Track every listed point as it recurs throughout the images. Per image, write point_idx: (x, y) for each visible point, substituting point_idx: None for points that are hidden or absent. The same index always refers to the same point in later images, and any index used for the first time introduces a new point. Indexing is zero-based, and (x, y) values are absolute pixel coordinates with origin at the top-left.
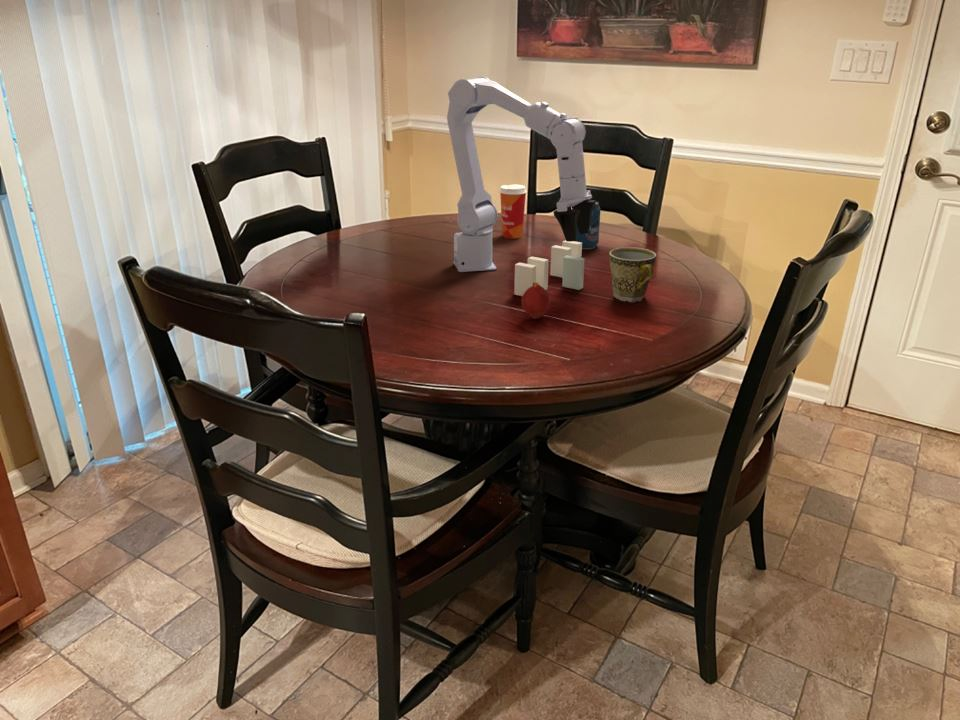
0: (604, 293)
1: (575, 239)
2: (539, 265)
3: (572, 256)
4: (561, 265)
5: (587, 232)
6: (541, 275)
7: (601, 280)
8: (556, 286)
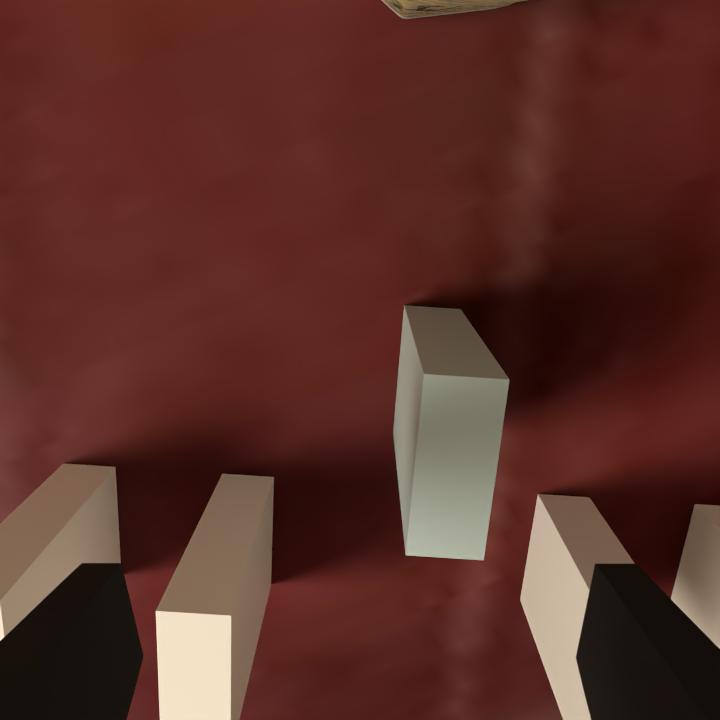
0: (449, 111)
1: (627, 575)
2: None
3: (418, 500)
4: (259, 565)
5: (115, 577)
6: None
7: (179, 250)
8: None
